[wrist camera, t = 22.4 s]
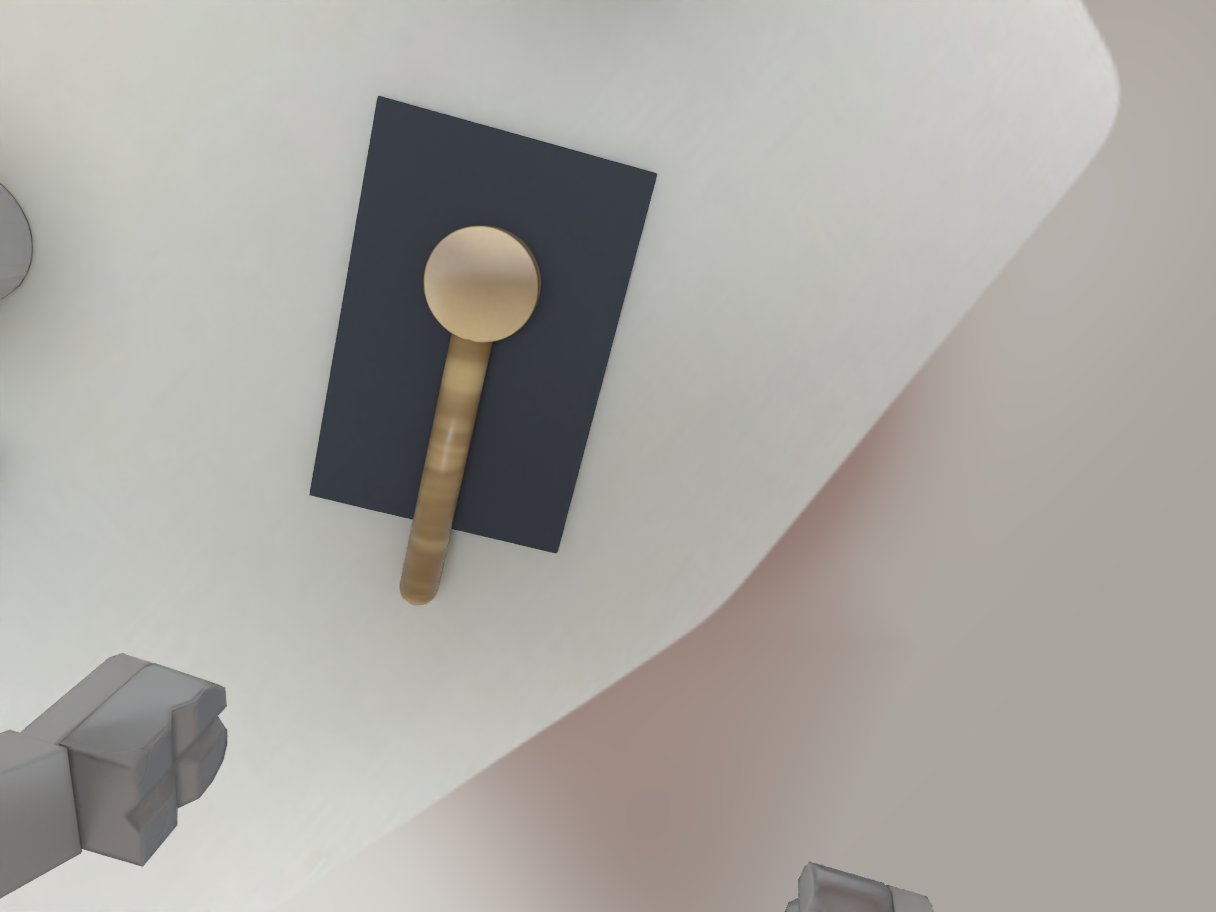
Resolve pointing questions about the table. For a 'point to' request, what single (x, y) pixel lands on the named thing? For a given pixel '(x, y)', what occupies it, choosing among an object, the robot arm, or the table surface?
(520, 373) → the mat
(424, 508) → the spoon
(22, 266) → the coffee cup
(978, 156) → the table surface
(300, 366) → the table surface
